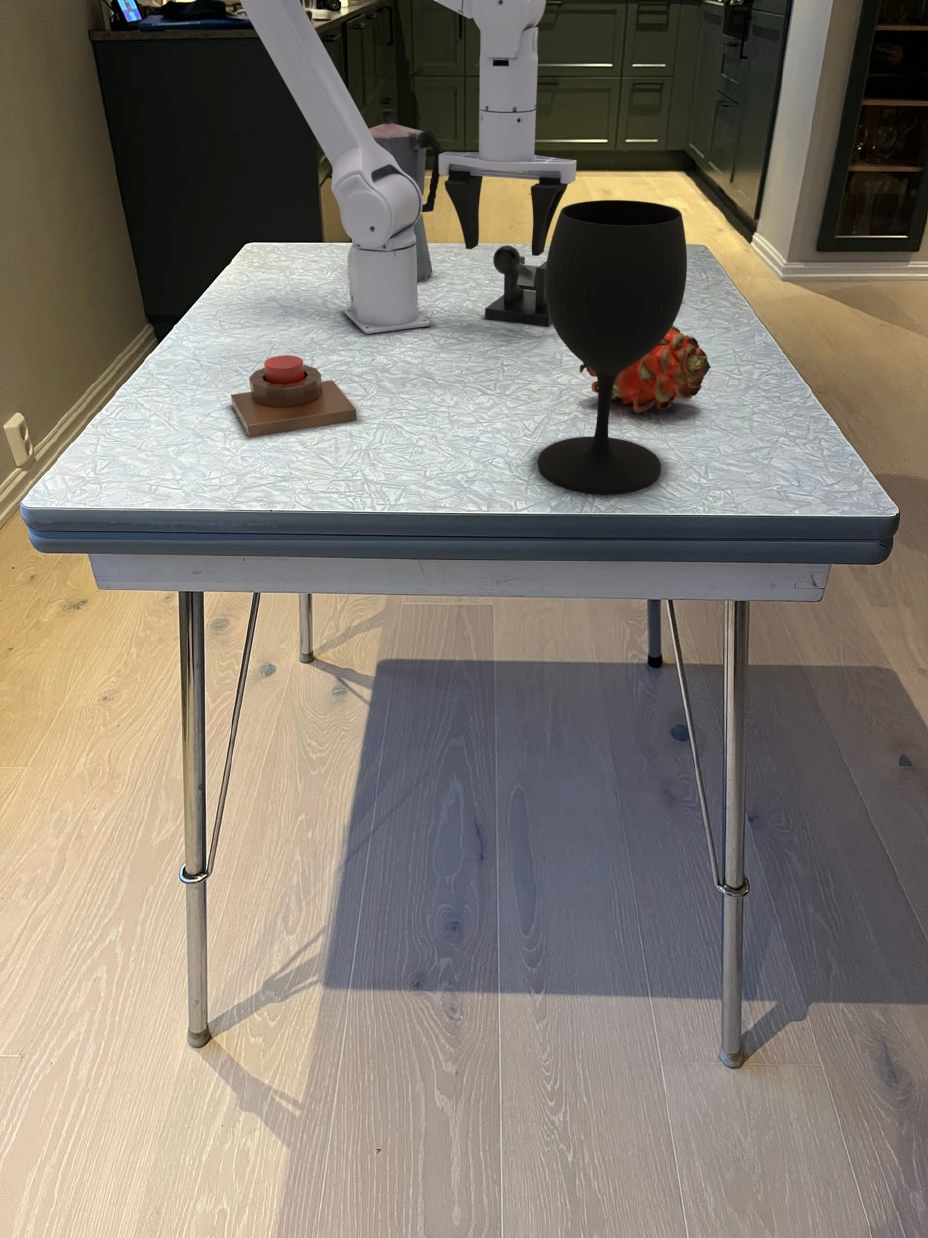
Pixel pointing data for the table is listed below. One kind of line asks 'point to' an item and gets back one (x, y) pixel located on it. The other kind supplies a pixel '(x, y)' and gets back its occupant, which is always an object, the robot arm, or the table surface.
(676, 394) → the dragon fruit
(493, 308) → the bracket
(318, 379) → the button block
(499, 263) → the lever
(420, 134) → the moka pot
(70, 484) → the table surface
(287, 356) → the button
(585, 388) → the table surface
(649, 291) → the wine glass
